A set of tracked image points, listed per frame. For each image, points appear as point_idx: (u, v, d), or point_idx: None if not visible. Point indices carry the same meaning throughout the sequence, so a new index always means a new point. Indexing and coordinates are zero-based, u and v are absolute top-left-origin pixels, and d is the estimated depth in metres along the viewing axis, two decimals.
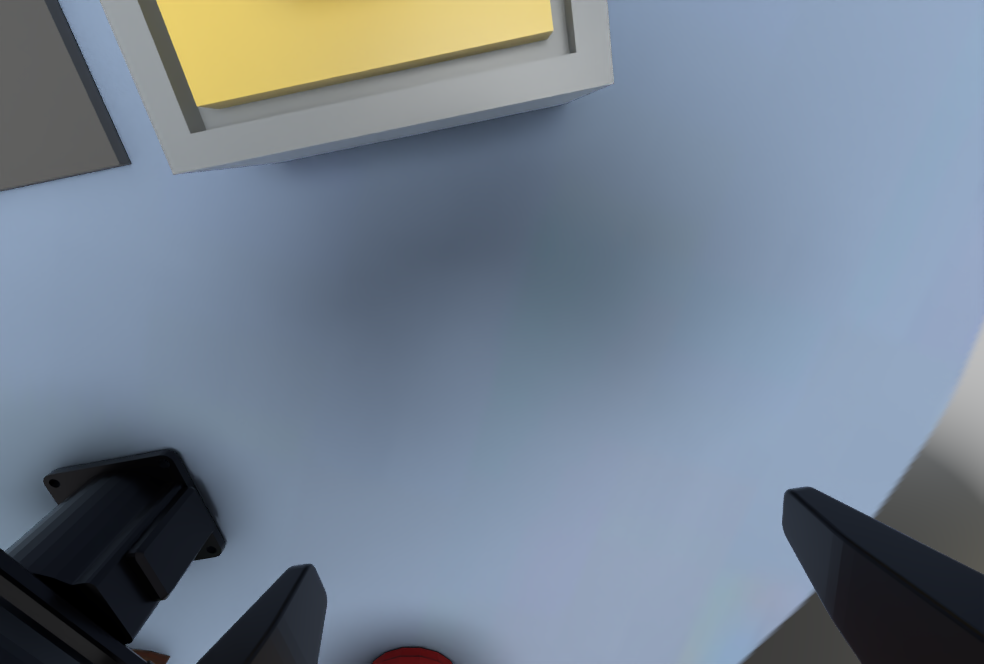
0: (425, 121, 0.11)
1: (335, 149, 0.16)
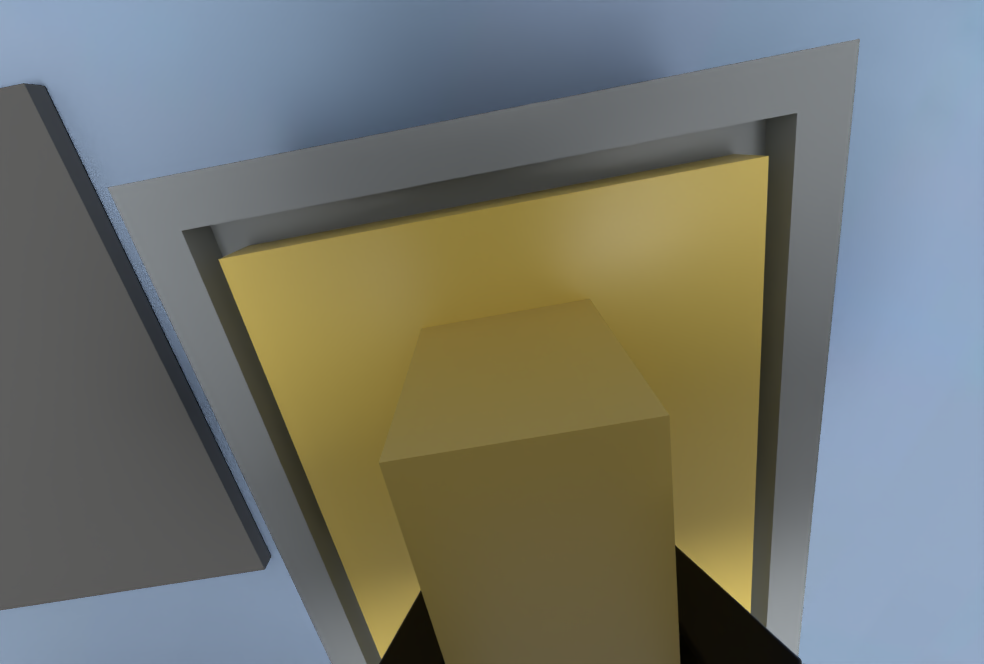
0: None
1: None
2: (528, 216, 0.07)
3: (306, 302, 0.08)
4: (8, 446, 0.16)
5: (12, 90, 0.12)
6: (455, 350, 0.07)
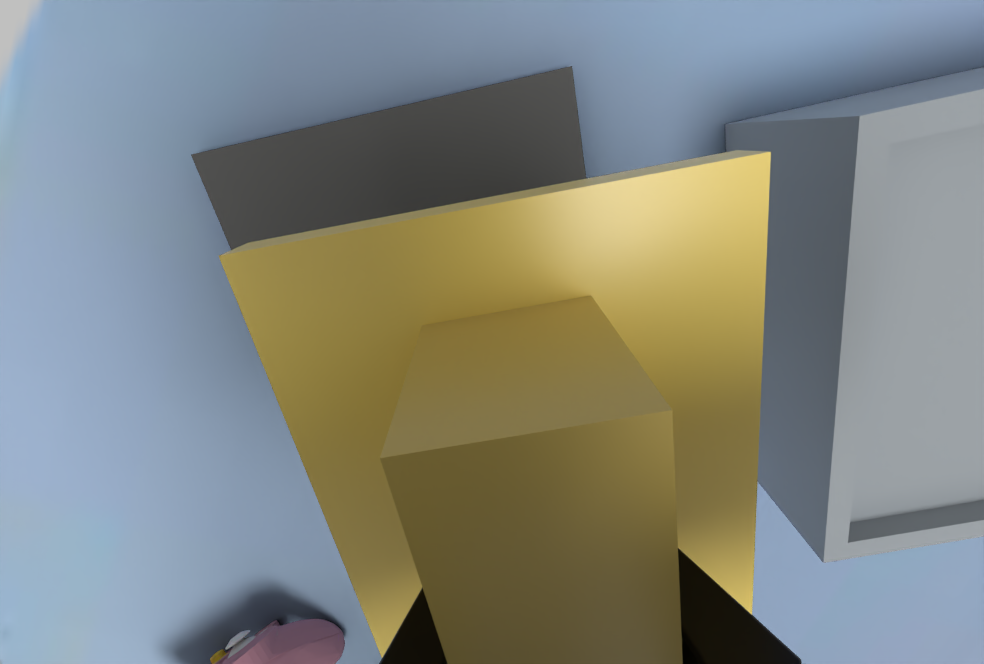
0: None
1: None
2: (529, 212, 0.07)
3: (306, 298, 0.08)
4: None
5: (561, 71, 0.16)
6: (455, 347, 0.07)
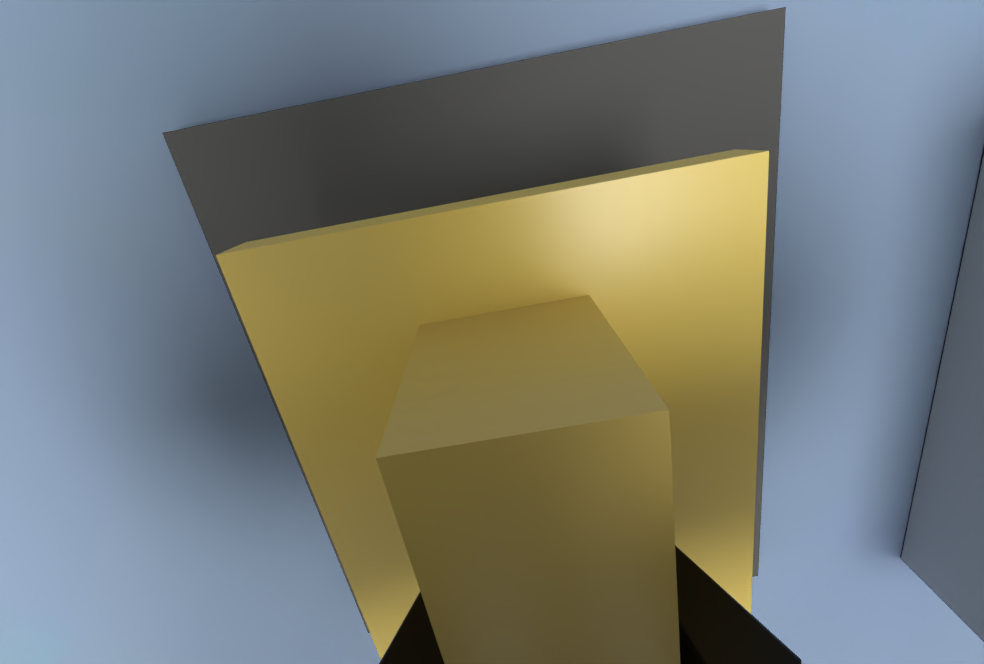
0: None
1: None
2: (527, 212, 0.07)
3: (303, 298, 0.08)
4: None
5: (767, 15, 0.10)
6: (453, 346, 0.07)
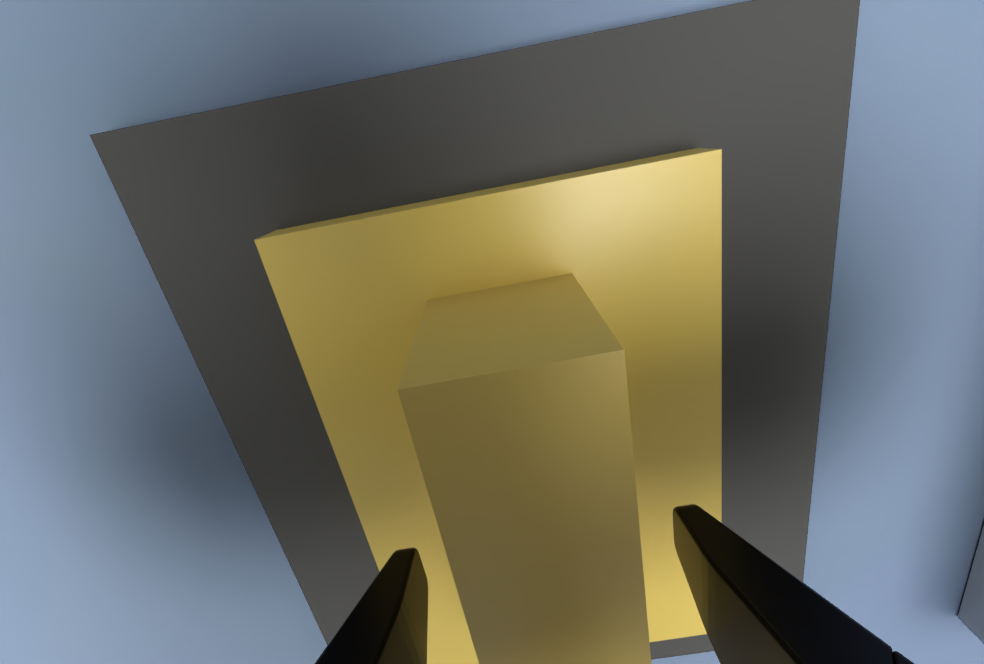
0: None
1: None
2: (518, 201, 0.08)
3: (328, 276, 0.09)
4: None
5: None
6: (456, 314, 0.08)
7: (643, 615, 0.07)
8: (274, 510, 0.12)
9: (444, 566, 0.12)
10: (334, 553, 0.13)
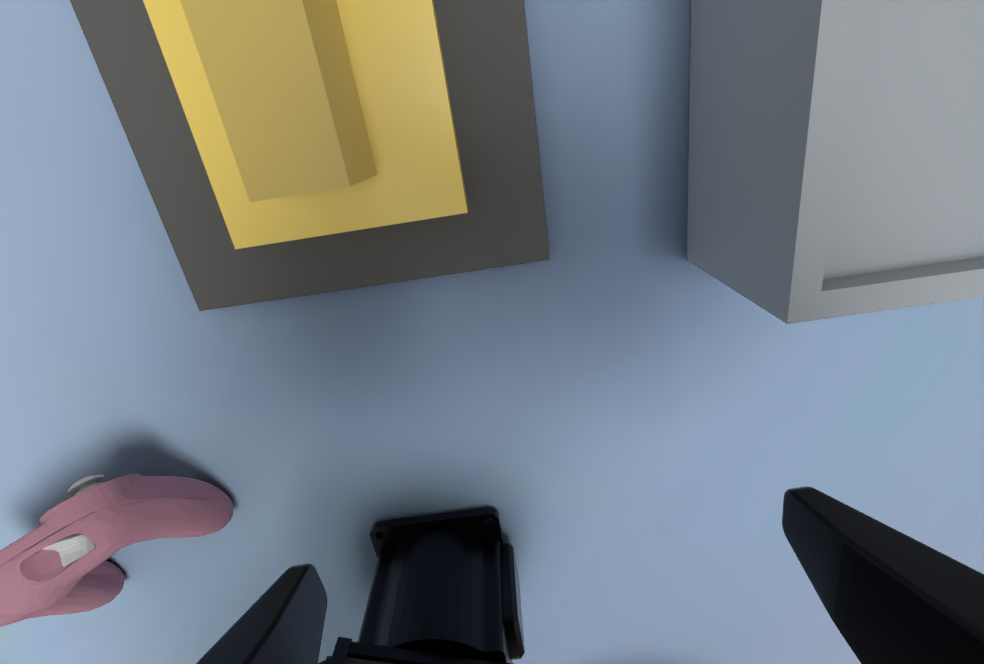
0: None
1: None
2: None
3: None
4: None
5: None
6: None
7: None
8: (114, 90, 0.16)
9: None
10: (166, 140, 0.16)
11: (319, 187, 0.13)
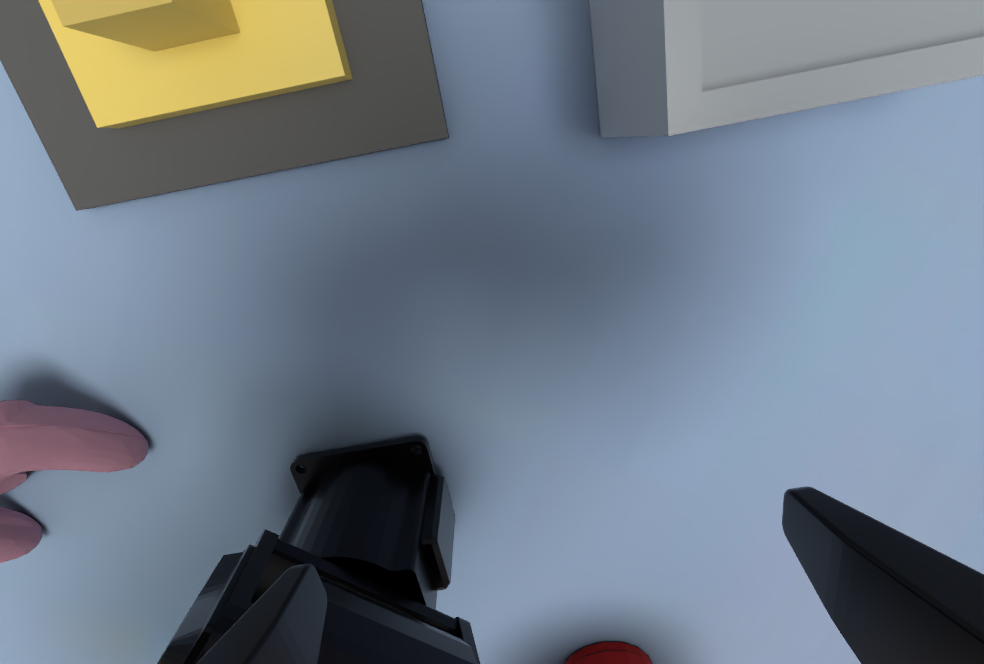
0: (948, 80, 0.11)
1: None
2: None
3: None
4: None
5: None
6: None
7: None
8: None
9: None
10: (16, 8, 0.15)
11: (137, 4, 0.11)
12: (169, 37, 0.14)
